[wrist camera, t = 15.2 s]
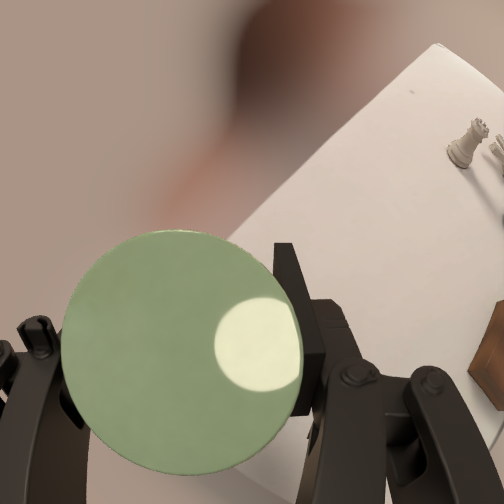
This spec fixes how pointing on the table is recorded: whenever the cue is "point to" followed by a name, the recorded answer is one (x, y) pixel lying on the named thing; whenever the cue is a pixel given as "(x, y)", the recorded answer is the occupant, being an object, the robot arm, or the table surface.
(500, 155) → the bunny figurine
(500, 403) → the walnut platform
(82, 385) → the green round cylinder
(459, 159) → the rook chess piece
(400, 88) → the table surface
